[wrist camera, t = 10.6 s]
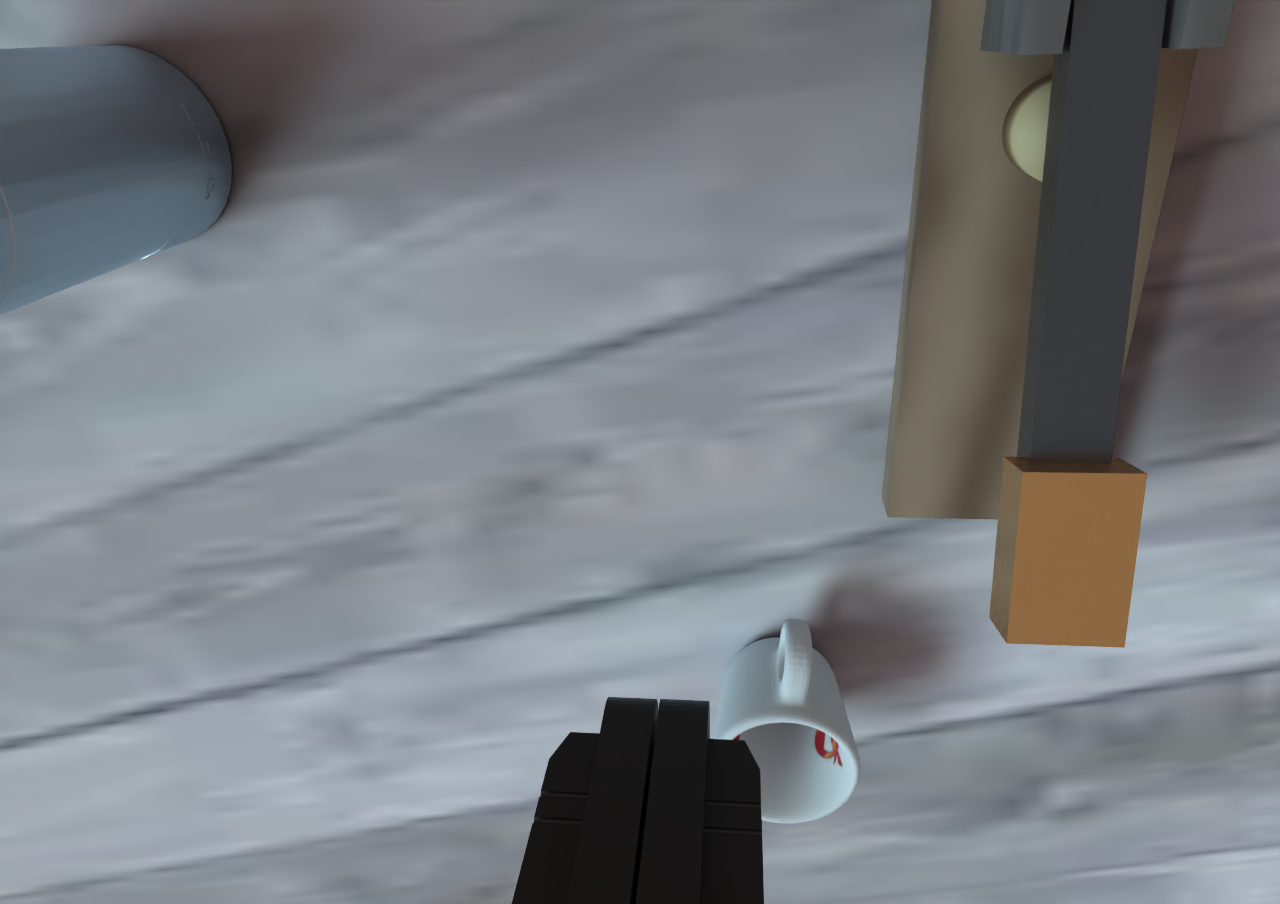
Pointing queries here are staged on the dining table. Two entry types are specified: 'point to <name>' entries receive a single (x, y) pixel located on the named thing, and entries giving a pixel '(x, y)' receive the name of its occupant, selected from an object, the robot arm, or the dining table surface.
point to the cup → (790, 725)
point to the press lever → (1081, 343)
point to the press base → (995, 238)
